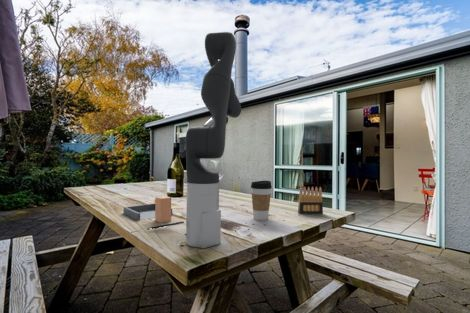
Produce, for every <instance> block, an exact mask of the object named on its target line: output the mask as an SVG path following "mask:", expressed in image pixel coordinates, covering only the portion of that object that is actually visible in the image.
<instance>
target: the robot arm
mask: <svg viewBox="0 0 470 313" xmlns="http://www.w3.org/2000/svg"><path fill="white" fill-rule="evenodd" d="M236 41H237V40H236V37H235V35H234V33H232V32H230V31H221V32H219V31H218V32H209V33H206V36H205V39H204V50H205V53H206V57H207V60H208V63H209V65H210V69H209V70H208V71H207V72H206V73H205V75H204V76H203V80H202V84H201V90H200V96H201V99H202V100H201V101H202V102H203V103H204V105H205V107H206V108H207V110H208V111H209V113H210V115H211V117H210V119H208V120H207V121H206V122H205V123H204V124H202V126H191V127H189V128H188V129H187V130H186V133H185V144H184V146H183V148H184V149H183V150H182V151H181V152H180V154H179V156H180V157H181V158H182V159H185V161H186V162H185V163H186V164H185V165H186V167H185V169H186V172H185V173H186V219H185V220H186V224H185V226H186V227H185V230H186V231H185V232H186V233H185V235H186V238H185V242H186V243H185V244H186V245H187V246H190V247H194V248H200V249H206V248H209V247H214V246H217V245H219V244H221V243H222V242H221V240H222V238H221V230H222V227H221V226H222V211H221V209H219V208H220V174H219V172H218V171H215V170H213V169H210V168H208V167H206V166H205V165H203V164H202V162H201V159H202V160H203V159H205V160H207V159H209V160H210V159H213V160H215V159H220V158H222V157H223V155H224V152H225V148H226V130H227V124H228V122H229V118H228V117H230V118H233V119H235V118H238V117H239V116H240V115H241V112H242V106H241V101H240V100H239V97H238V96H237V94H236V88H235V82H234V80H233V78H232V71H233V66H234V65H233V64H234V61H235V57H236V53H237V52H236V51H237V42H236Z"/></svg>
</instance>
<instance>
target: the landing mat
mask: <svg viewBox="0 0 470 313" xmlns="http://www.w3.org/2000/svg"><path fill="white" fill-rule="evenodd" d="M184 223H185V222H184V221H178V222H172V223H167V224H162V225H157V226H151V227H150V229H151V228H152V229H151V230H154V229H153V228H155V229H160V228H159V227H161V228H164V226H166V227H170V226H176V225H180V224H184Z"/></svg>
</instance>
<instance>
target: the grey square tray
mask: <svg viewBox="0 0 470 313" xmlns="http://www.w3.org/2000/svg"><path fill="white" fill-rule="evenodd" d="M123 214H124V215H126V216H127V217H130V218H132V219H134V220H135V221H143V220H150V219H155V203H148V204H147V203H145V204H138V205H129V206H124V207H123ZM171 216H173V208H172V207H171Z"/></svg>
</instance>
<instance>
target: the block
mask: <svg viewBox="0 0 470 313" xmlns="http://www.w3.org/2000/svg"><path fill="white" fill-rule="evenodd" d="M154 198H155V218H154V220H155V221H156V222H158V223H161V224H162V223H168V222H171V221H172V215H171V208H172V196H171V197H170V196H167V195H163V196H156V197H154Z"/></svg>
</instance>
